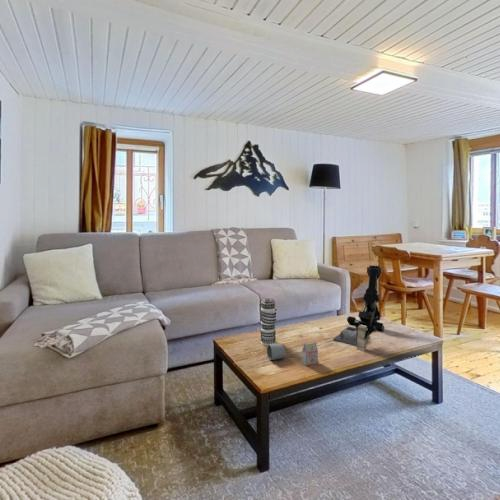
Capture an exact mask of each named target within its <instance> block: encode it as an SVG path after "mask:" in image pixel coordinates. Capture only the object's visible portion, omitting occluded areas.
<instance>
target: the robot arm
mask: <svg viewBox="0 0 500 500" xmlns="http://www.w3.org/2000/svg"><path fill="white" fill-rule="evenodd" d="M382 270H383V269H382V267H380V265H369V266H367V267H366V274H367V276H368V286H367V288H366V289H365V293H363V297H362V298H363V299H362V301H364V302H363V303H364V308H363V310H362V311H361V310H359V311H358V316H357V317H358V318H359V319H357V318H356V316H349V315H348V317H347V319H346V321H347V324H348V326H351V327H354V328H356V331H357V334H358V326H359V325H363V326H367V331H366V334H365V337H364V339H366V340H367V338H369V337H368V336H370V335H371V334H373V333H376V331H377V332H380V333H384V332H385V325H384V323H383V322H380V321H381V312H380V310H379V306H378V305H377V303H378V302H380V296H379V294H378V280H379V279H380V277H381V275H382ZM378 321H379V322H378Z"/></svg>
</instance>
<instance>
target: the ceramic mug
mask: <svg viewBox="0 0 500 500" xmlns="http://www.w3.org/2000/svg"><path fill="white" fill-rule="evenodd" d="M266 356H267V358H268V360H269V361H274V360H283V359H285V358H286V356H287V347H286V346H285V344H284V343H275V344H269V345H268V346H267V347H266Z"/></svg>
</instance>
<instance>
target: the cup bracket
mask: <svg viewBox="0 0 500 500" xmlns="http://www.w3.org/2000/svg"><path fill="white" fill-rule="evenodd" d="M369 336H370V335H369ZM369 336H368V337H367V338H369ZM333 341H334V342H339V343H343V344H346V345H350V346H354V347H357V331H356V327H355V326H351V325H348V326H345V328H343V330H341V331H340V333H339V334H337V335H336V336H334V338H333Z"/></svg>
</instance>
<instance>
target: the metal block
mask: <svg viewBox="0 0 500 500" xmlns="http://www.w3.org/2000/svg"><path fill="white" fill-rule="evenodd" d="M366 331H367V326H365V325H359V326H358V334H357V346H356V350H358V351H362V352H365V351H366V349H367V338H366V339H364V337H365V334H366Z"/></svg>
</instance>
